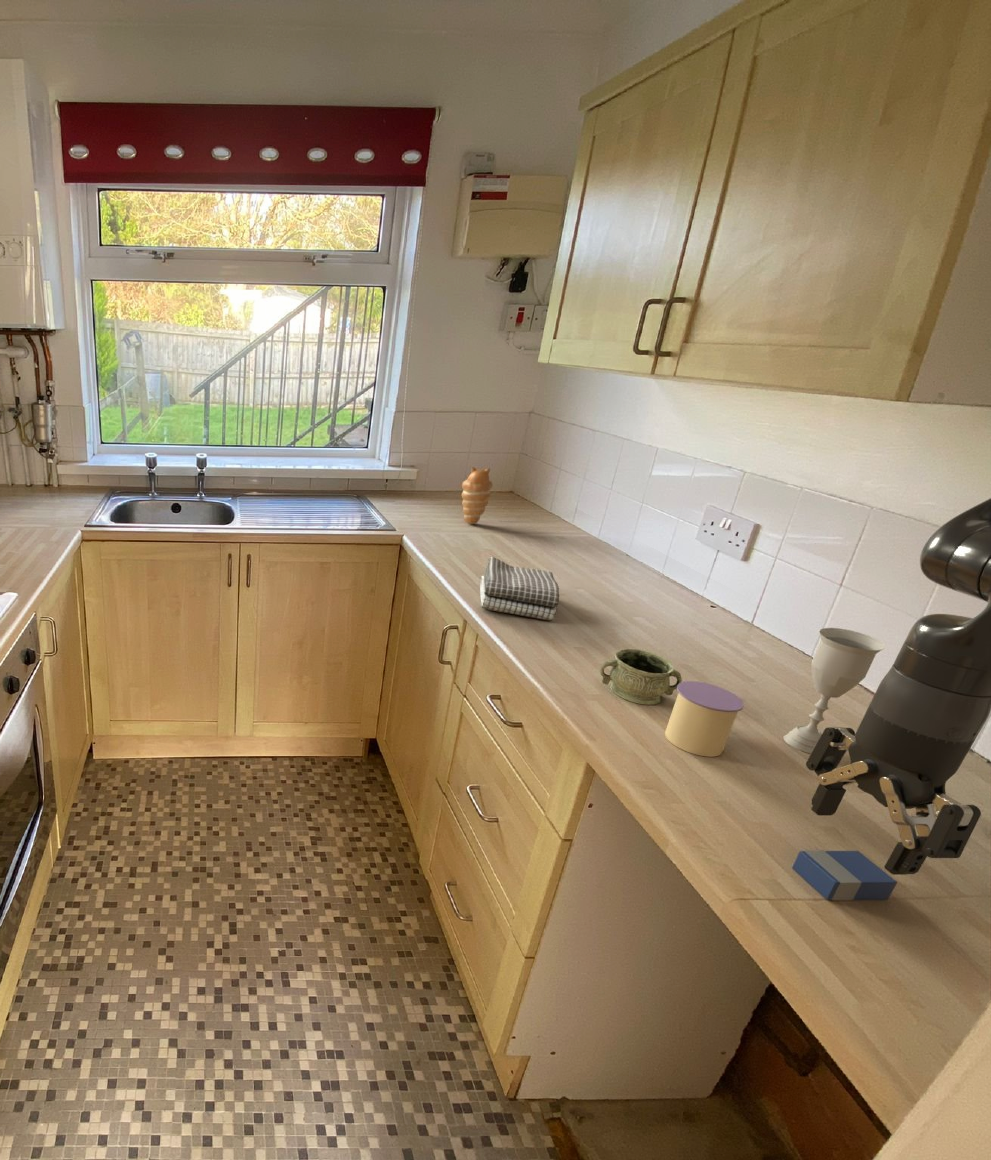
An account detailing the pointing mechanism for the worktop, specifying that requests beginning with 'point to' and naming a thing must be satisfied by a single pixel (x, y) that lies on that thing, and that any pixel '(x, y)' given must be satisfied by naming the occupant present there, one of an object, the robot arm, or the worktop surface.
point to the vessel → (640, 676)
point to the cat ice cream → (476, 494)
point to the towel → (519, 590)
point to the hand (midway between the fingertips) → (856, 840)
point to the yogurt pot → (702, 718)
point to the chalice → (834, 676)
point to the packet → (844, 875)
